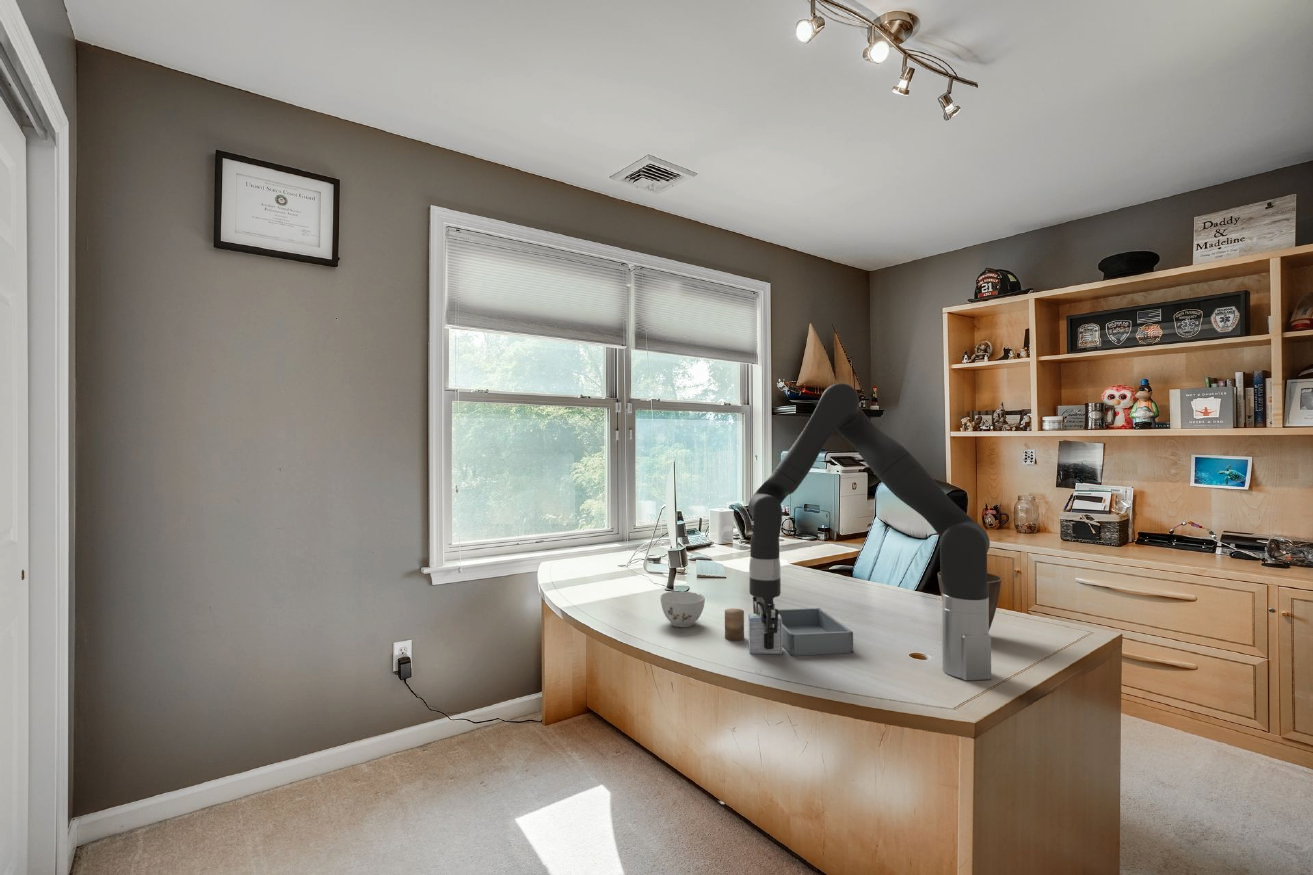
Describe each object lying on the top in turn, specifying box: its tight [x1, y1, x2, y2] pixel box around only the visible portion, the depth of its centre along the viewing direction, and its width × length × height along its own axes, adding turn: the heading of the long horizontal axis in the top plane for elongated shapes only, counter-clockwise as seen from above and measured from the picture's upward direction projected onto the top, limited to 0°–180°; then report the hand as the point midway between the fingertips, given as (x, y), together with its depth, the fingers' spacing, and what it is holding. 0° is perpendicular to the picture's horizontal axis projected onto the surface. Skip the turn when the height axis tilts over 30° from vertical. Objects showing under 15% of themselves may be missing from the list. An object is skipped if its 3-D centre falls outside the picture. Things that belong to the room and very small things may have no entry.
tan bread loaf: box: [724, 607, 745, 642], centre depth 162 cm, size 5×5×7 cm
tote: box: [777, 607, 854, 657], centre depth 160 cm, size 22×16×5 cm
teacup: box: [659, 590, 706, 628], centre depth 175 cm, size 15×12×8 cm
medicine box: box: [748, 613, 783, 655], centre depth 152 cm, size 8×4×9 cm, turn 84°
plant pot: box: [937, 571, 1002, 631], centre depth 162 cm, size 15×15×16 cm
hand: (765, 644), depth 152 cm, fingers open, 5 cm apart
